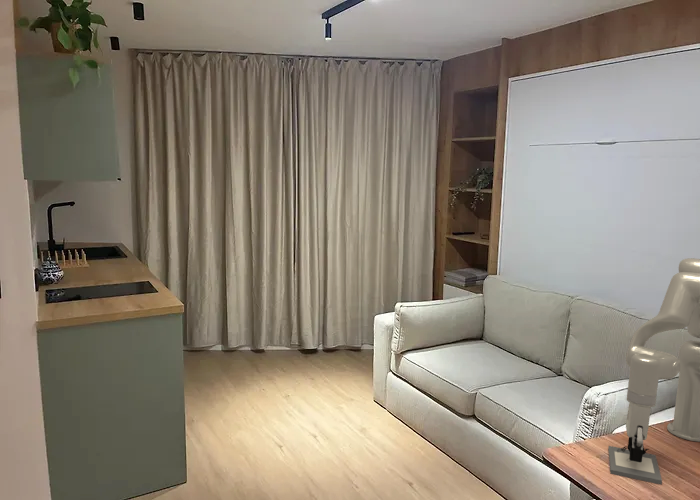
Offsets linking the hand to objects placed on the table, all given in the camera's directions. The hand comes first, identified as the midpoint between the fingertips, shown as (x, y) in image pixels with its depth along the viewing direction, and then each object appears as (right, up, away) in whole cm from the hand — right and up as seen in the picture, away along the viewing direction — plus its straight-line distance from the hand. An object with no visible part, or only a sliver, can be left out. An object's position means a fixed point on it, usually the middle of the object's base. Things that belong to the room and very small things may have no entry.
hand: (634, 455), depth 166 cm
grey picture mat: (0, -3, +1) cm, 3 cm away
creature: (-1, -1, +1) cm, 1 cm away
